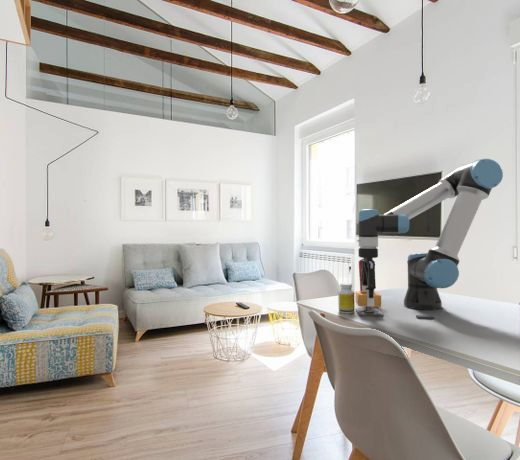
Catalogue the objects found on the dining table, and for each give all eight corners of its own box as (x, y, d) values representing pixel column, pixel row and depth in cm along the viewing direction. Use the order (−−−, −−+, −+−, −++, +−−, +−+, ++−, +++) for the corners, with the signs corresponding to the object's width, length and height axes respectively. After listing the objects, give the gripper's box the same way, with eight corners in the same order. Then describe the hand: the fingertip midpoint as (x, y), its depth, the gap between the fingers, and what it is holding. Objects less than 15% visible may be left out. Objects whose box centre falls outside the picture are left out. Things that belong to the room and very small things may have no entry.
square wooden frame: (376, 302, 148) (376, 291, 148) (381, 306, 140) (381, 295, 140) (355, 301, 149) (355, 291, 149) (358, 306, 141) (359, 294, 141)
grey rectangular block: (432, 317, 136) (432, 315, 136) (434, 319, 134) (434, 316, 134) (415, 317, 137) (415, 315, 137) (418, 318, 135) (418, 316, 135)
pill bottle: (355, 314, 143) (354, 285, 143) (338, 313, 144) (338, 284, 144) (354, 310, 149) (353, 282, 149) (338, 310, 151) (338, 282, 151)
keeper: (355, 310, 150) (354, 291, 150) (377, 310, 149) (376, 291, 149) (359, 316, 139) (359, 296, 139) (383, 316, 138) (383, 296, 139)
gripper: (354, 246, 155) (354, 298, 155) (363, 248, 134) (363, 309, 134) (372, 246, 155) (372, 298, 155) (384, 249, 134) (384, 309, 133)
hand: (368, 303), depth 144 cm, fingers closed on square wooden frame, 8 cm apart
